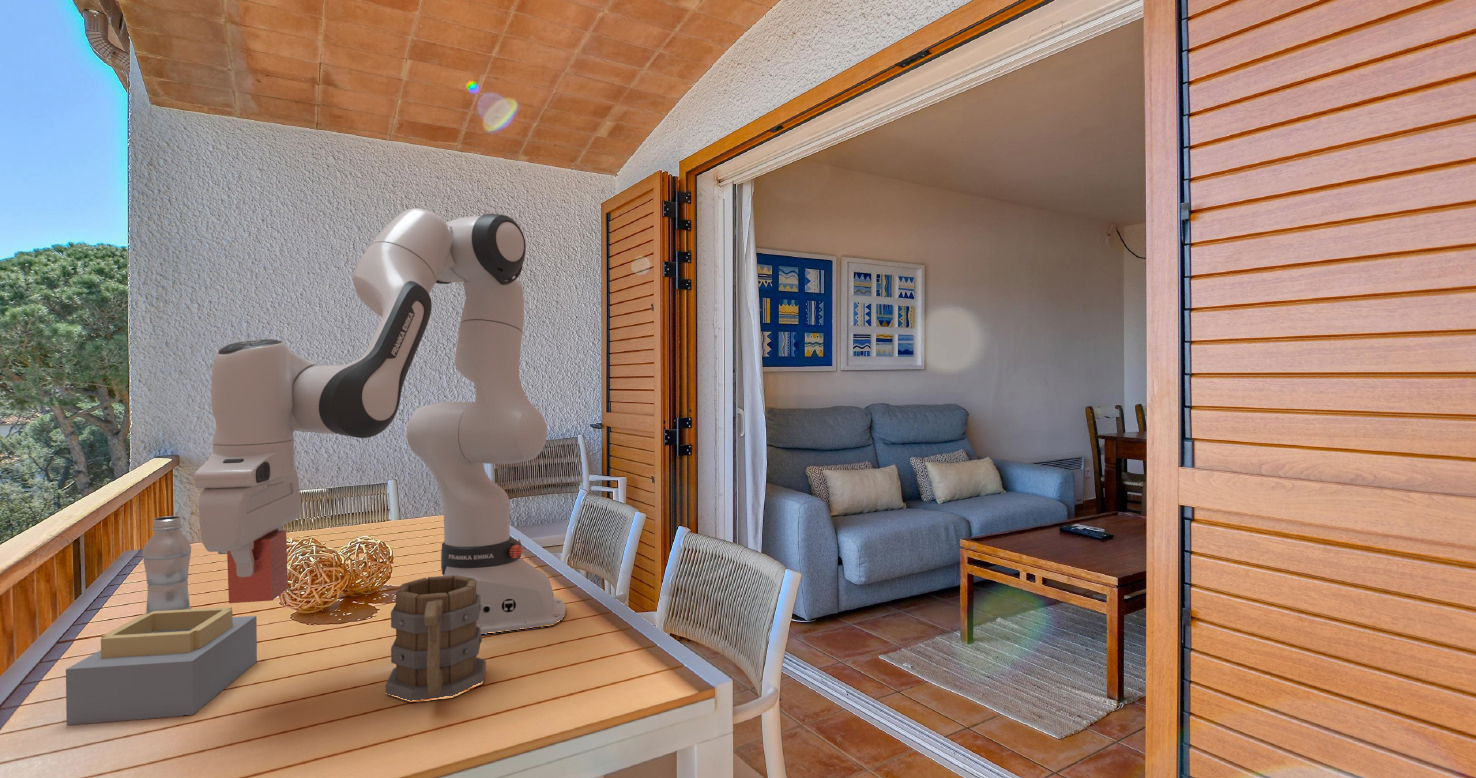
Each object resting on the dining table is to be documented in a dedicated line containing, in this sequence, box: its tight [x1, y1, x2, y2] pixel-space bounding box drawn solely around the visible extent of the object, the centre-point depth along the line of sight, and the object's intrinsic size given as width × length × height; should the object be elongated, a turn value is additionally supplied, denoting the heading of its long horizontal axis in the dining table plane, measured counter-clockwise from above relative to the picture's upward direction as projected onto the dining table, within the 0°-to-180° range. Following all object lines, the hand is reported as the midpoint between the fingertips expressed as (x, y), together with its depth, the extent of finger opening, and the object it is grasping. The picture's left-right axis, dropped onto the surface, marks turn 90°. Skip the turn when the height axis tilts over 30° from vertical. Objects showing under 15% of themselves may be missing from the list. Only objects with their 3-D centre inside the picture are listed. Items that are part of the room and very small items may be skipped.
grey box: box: [65, 606, 258, 726], centre depth 102 cm, size 14×20×10 cm
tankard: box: [385, 575, 487, 701], centre depth 100 cm, size 20×13×15 cm, turn 16°
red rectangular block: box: [217, 529, 289, 604], centre depth 96 cm, size 7×5×8 cm
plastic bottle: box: [141, 515, 192, 614], centre depth 121 cm, size 6×7×20 cm
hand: (258, 568), depth 96 cm, fingers closed on red rectangular block, 5 cm apart
